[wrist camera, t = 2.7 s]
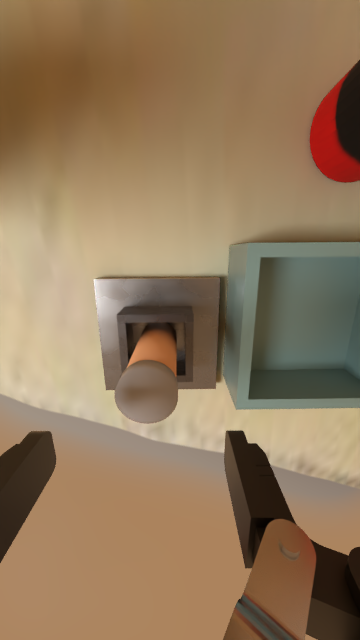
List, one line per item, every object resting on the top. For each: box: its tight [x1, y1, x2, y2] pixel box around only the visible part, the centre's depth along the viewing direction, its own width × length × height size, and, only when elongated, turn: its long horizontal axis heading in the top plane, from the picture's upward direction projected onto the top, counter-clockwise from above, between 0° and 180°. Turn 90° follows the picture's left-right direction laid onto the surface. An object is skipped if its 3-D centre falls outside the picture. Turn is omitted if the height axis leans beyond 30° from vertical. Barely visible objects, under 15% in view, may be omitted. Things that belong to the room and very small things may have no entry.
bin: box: [223, 242, 360, 409], centre depth 21 cm, size 14×14×6 cm
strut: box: [115, 322, 178, 424], centre depth 19 cm, size 4×4×10 cm
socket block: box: [94, 277, 220, 390], centre depth 23 cm, size 12×12×4 cm
